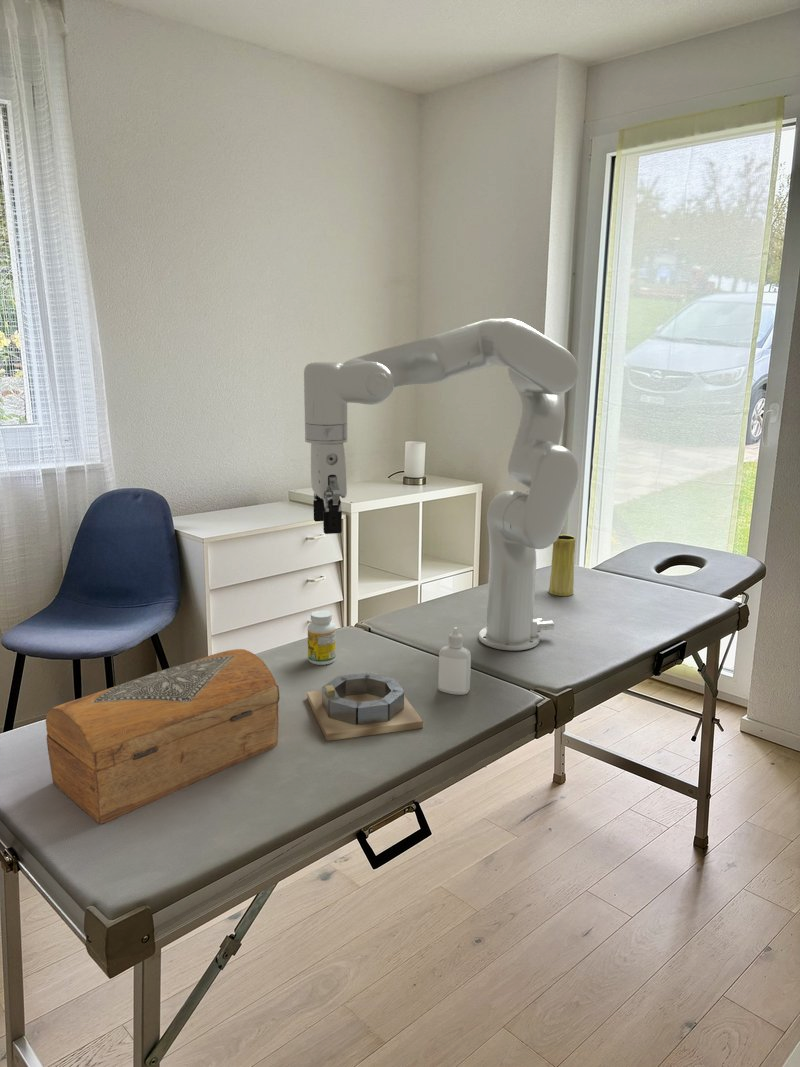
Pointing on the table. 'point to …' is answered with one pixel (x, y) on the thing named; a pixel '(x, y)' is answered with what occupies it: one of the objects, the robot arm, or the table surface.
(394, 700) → the gray octagonal ring
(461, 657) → the eye dropper bottle
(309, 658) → the supplement bottle
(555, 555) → the vase
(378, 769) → the table surface
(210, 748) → the wooden box
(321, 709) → the square wooden board
